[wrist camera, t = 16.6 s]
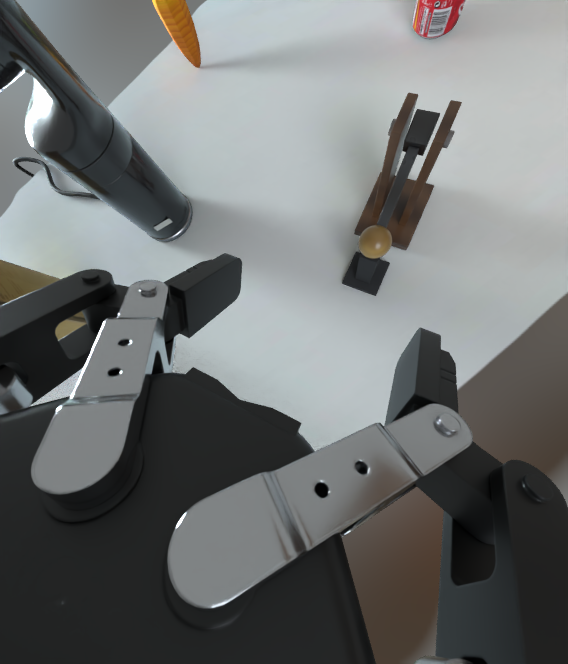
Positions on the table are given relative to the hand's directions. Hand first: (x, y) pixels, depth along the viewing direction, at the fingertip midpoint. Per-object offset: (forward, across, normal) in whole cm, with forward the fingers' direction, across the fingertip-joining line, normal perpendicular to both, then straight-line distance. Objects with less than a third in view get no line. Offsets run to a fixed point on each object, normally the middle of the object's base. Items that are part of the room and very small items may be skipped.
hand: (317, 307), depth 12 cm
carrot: (+49, +45, -8) cm, 67 cm away
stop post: (+29, 0, +11) cm, 31 cm away
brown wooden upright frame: (+37, 0, +4) cm, 37 cm away
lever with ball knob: (+26, 0, 0) cm, 26 cm away
